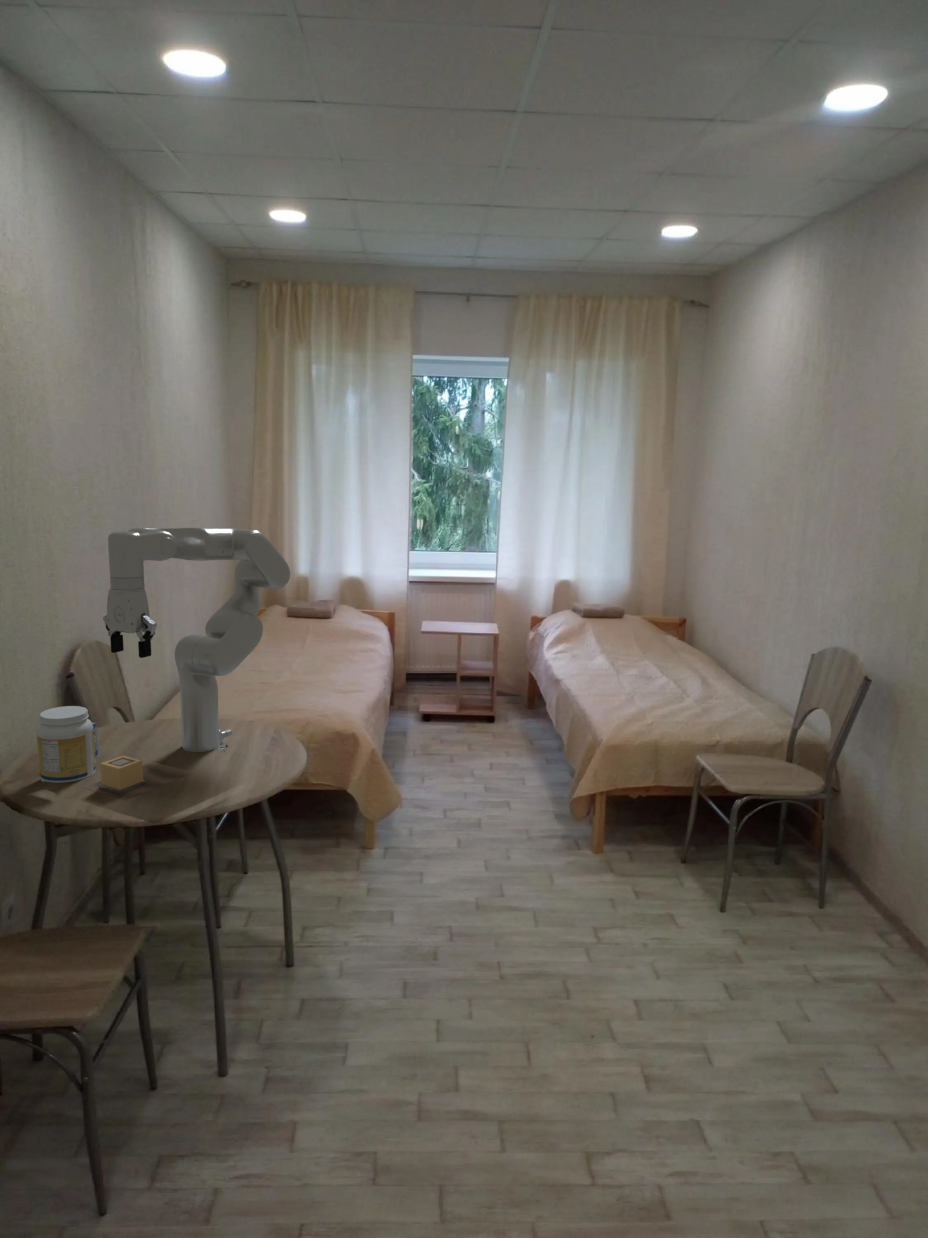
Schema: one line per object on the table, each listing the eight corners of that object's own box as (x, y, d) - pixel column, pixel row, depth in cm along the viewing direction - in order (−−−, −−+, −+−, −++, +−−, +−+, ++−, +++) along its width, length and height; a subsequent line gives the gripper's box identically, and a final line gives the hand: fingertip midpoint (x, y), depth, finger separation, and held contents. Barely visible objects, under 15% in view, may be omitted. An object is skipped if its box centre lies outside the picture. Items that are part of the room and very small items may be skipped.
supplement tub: (58, 769, 206) (53, 703, 203) (105, 771, 205) (101, 705, 202) (29, 787, 194) (24, 718, 191) (80, 789, 193) (75, 720, 190)
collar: (124, 775, 196) (123, 755, 195) (143, 780, 193) (142, 760, 192) (101, 784, 190) (100, 763, 189) (120, 789, 187) (119, 768, 186)
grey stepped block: (124, 778, 196) (123, 754, 195) (145, 784, 193) (144, 760, 192) (98, 788, 190) (97, 763, 189) (120, 794, 187) (118, 769, 186)
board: (153, 767, 208) (153, 761, 208) (193, 778, 202) (193, 772, 201) (84, 793, 191) (83, 787, 191) (125, 806, 184) (125, 800, 184)
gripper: (89, 582, 196) (93, 652, 199) (139, 588, 188) (143, 661, 191) (116, 579, 203) (119, 647, 206) (165, 585, 195) (168, 655, 198)
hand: (131, 654), depth 198 cm, fingers open, 9 cm apart
